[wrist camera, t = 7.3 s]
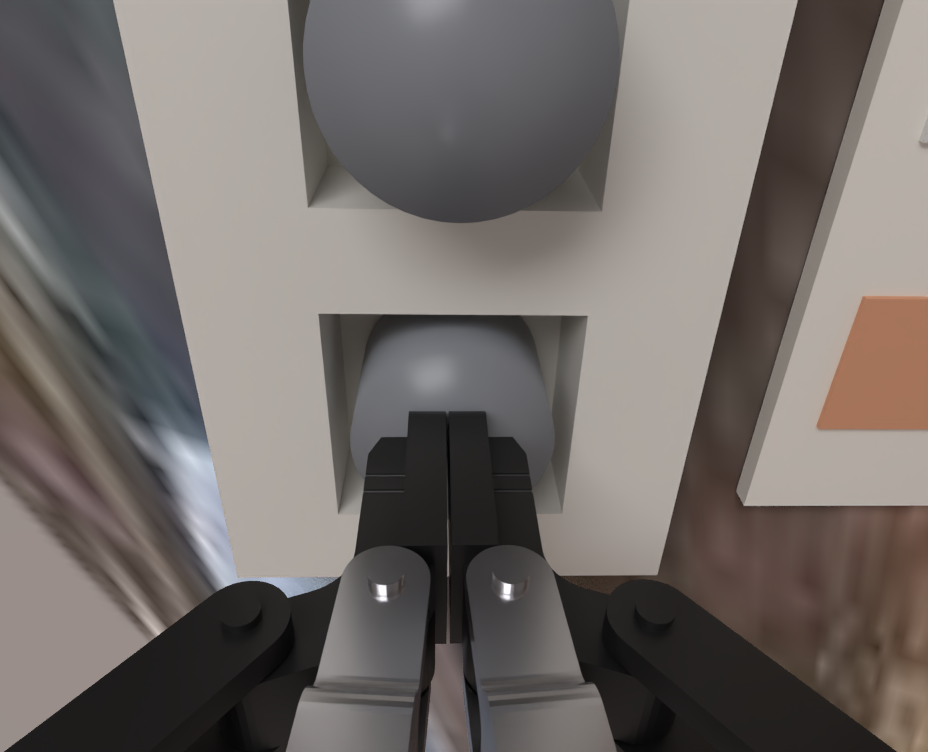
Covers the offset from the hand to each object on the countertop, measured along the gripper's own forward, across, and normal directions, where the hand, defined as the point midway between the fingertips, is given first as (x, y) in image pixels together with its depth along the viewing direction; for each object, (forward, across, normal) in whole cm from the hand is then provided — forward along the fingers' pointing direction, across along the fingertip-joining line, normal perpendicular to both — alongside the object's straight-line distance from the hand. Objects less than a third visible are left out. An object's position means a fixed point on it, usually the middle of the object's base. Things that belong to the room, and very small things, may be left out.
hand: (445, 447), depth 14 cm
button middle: (+2, 0, -7) cm, 7 cm away
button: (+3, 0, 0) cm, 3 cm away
